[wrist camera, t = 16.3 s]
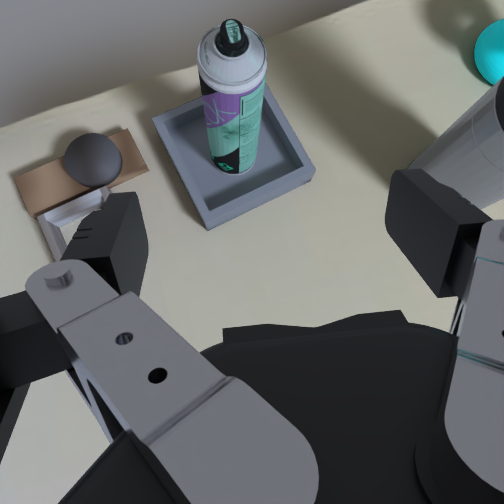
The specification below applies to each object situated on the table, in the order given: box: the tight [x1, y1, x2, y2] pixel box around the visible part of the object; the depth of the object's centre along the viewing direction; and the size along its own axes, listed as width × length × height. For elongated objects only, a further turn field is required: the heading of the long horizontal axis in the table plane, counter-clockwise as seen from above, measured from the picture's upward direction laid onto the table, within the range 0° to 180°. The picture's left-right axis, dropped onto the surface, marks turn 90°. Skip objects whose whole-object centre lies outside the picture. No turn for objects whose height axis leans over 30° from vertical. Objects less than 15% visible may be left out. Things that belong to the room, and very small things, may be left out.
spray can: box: [197, 19, 267, 176], centre depth 37 cm, size 6×6×20 cm
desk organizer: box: [14, 128, 149, 262], centre depth 44 cm, size 14×14×4 cm
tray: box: [152, 82, 316, 231], centre depth 46 cm, size 14×14×4 cm
